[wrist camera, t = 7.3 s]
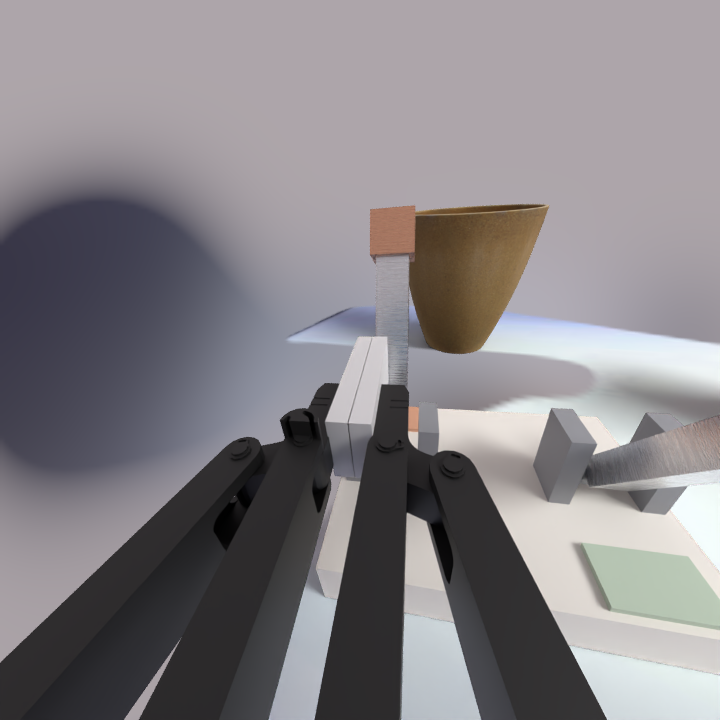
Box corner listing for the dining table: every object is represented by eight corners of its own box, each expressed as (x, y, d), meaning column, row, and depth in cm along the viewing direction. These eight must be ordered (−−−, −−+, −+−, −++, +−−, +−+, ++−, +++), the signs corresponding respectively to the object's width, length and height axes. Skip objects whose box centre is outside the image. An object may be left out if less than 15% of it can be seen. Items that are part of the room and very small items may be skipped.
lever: (411, 459, 18) (415, 221, 17) (410, 474, 16) (415, 205, 15) (373, 456, 18) (375, 224, 17) (368, 470, 16) (370, 209, 15)
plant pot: (485, 386, 29) (514, 211, 21) (378, 346, 39) (370, 216, 31) (535, 335, 38) (569, 198, 30) (437, 313, 47) (443, 205, 39)
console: (584, 447, 21) (620, 363, 18) (732, 677, 11) (890, 593, 8) (364, 431, 25) (356, 358, 21) (324, 597, 15) (297, 512, 11)
